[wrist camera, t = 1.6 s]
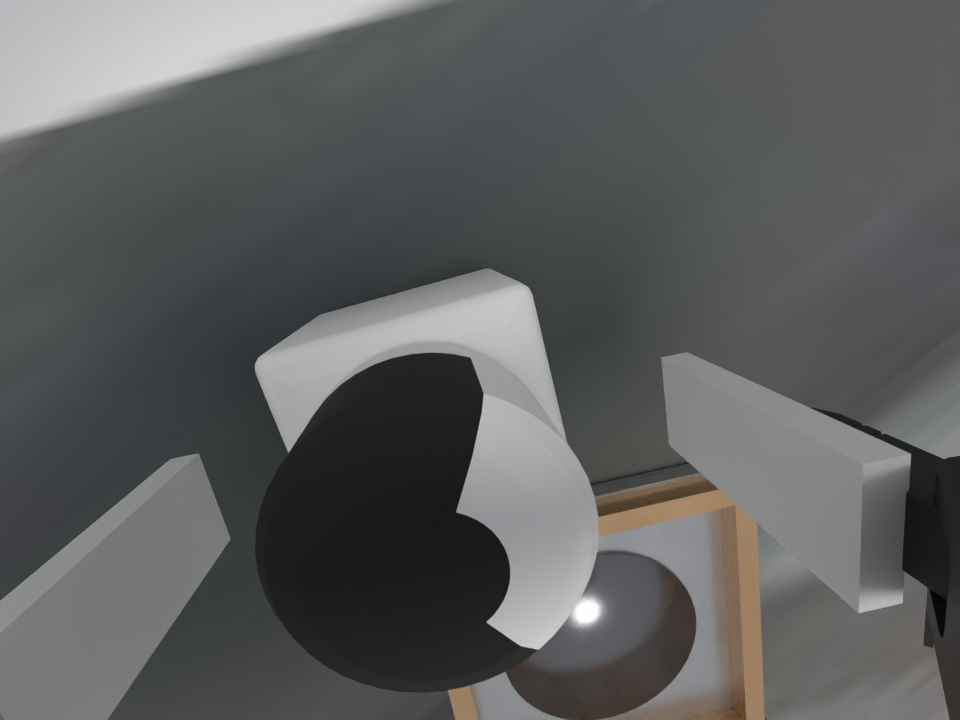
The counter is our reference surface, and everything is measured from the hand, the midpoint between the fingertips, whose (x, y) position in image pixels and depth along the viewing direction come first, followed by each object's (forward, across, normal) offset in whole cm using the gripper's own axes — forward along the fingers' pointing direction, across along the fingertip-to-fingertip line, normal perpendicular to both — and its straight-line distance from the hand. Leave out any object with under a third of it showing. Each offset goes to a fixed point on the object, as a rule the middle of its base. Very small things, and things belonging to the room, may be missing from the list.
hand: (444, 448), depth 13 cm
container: (+8, 0, 0) cm, 8 cm away
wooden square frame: (+8, +5, -15) cm, 18 cm away
